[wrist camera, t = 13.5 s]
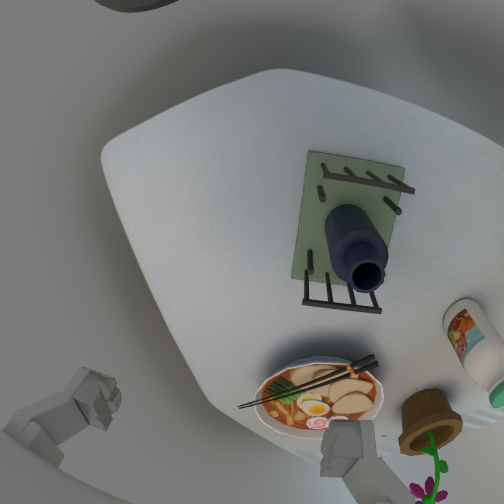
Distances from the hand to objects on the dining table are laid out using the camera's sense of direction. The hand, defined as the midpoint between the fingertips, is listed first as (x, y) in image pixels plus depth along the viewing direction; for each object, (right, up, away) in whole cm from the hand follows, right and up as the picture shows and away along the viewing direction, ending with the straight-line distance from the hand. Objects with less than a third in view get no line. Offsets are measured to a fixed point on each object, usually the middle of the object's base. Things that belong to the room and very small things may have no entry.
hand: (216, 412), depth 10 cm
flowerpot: (+39, -27, +43) cm, 64 cm away
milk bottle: (+38, -5, +33) cm, 51 cm away
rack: (+14, +10, +30) cm, 35 cm away
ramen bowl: (+14, -18, +43) cm, 48 cm away
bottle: (+14, +9, +29) cm, 34 cm away
